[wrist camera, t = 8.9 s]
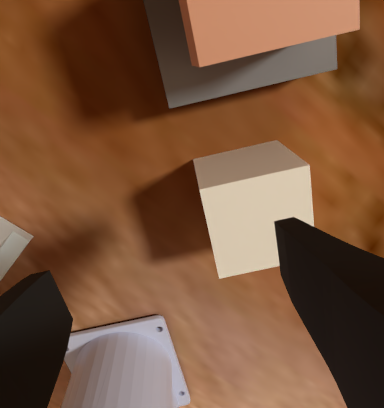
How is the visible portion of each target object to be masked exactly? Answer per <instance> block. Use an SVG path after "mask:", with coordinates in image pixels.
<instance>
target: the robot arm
mask: <svg viewBox="0 0 384 408" xmlns="http://www.w3.org/2000/svg"><path fill="white" fill-rule="evenodd" d="M274 225H275V233H276V241H277V248H278V256H279V264H280V272H281V276H282V279H283V281H284V284H285V286H286V289H287V291H288V294H289V296H290V299H291V301H292V303H293V305H294V307H295V309H296V310H297V312H298V314H299V316H300V318H301V319H302V321H303V323H304V325H305V327H306V328H307V330H308V332H309V334H310V335H311V337H312V339H313V341H314V342H315V344H316V346H317V348H318V350H319V351H320V353H321V355H322V357H323V358H324V360H325V362H326V364H327V365H328V367H329V369H330V371H331V373H332V375H333V377H334V379H335V381H336V383H337V385H338V388H339V390H340V392H341V394H342V396H343V399H344V401H345V403H346V405H347V408H384V258H382V257H379V256H377V255H374V254H372V253H369V252H367V251H364V250H362V249H359V248H357V247H355V246H353V245H350V244H348V243H346V242H344V241H342V240H339V239H337V238H335V237H333V236H331V235H329V234H327V233H325V232H323V231H321V230H319V229H317V228H315V227H313V226H311V225H309V224H307V223H305V222H303V221H301V220H299V219H297V218H295V217H291V218H287V219H282V220H277V221H274ZM72 322H73V318H72V316H71V314H70V312H69V310H68V308H67V306H66V304H65V302H64V299H63V297H62V295H61V293H60V291H59V289H58V287H57V285H56V283H55V281H54V279H53V277H52V275H51V273H50V270H49V271H44V272H40V273H35V274H31V275H29V276H28V277H26V278H24V279H23V280H21V281H20V282H19V283H17V284H16V285H15V286H13V287H12V288H11V289H9V290H8V291H7V292H5V293H4V294H3V295H2V296H0V408H47V406H48V404H49V401H50V398H51V395H52V392H53V389H54V386H55V384H56V381H57V378H58V375H59V372H60V369H61V366H62V363H63V360H64V361H65V362H66V364H67V366H68V368H69V370H70V372H71V377H70V381H69V384H68V387H67V390H66V393H65V396H64V399H63V402H62V406H61V408H179V406H184V405H187V404H189V403H190V395H189V392H188V389H187V385H186V382H185V379H184V376H183V373H182V370H181V367H180V364H179V361H178V358H177V355H176V352H175V349H174V346H173V343H172V340H171V337H170V334H169V331H168V328H167V325H166V322H165V319H164V317H162V316H160V315H155V316H151V317H146V318H141V319H136V320H132V321H127V322H122V323H117V324H113V325H108V326H103V327H98V328H94V329H89V330H84V331H79V332H75V333H71V327H72ZM158 327H162V328H158Z"/></svg>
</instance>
